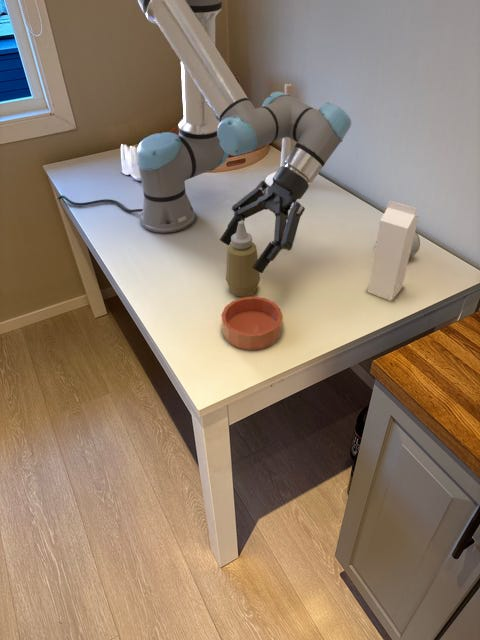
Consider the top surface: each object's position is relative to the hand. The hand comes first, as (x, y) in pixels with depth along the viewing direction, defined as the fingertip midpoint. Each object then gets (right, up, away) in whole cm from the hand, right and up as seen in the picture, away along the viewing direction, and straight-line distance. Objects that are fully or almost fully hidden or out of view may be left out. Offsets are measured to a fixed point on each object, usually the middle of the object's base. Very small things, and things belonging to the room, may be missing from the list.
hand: (239, 256), depth 108 cm
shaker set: (-35, +34, +56) cm, 75 cm away
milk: (+34, -7, +5) cm, 35 cm away
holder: (+3, -16, -4) cm, 17 cm away
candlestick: (+15, +31, +50) cm, 61 cm away
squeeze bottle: (+1, -7, +7) cm, 10 cm away
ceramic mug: (+39, +2, +16) cm, 42 cm away
